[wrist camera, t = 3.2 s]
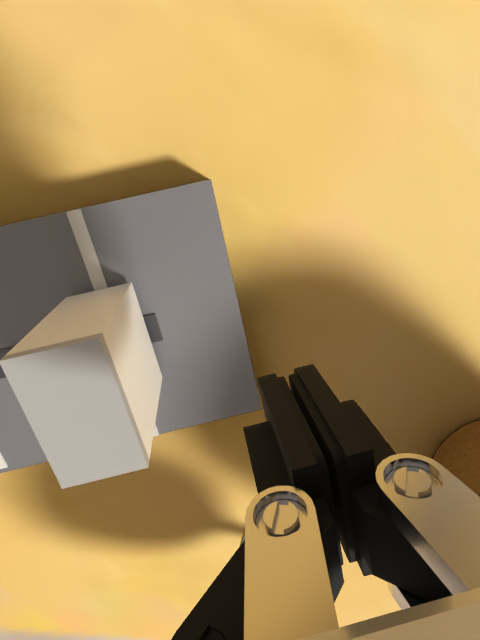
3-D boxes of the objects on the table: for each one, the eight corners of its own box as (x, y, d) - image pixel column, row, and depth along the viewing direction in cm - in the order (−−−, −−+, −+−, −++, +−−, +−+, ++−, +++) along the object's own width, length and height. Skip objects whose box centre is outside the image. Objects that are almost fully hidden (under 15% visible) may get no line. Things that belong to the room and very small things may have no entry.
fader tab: (66, 297, 17) (-2, 361, 11) (131, 282, 17) (99, 337, 11) (103, 391, 19) (62, 489, 13) (162, 377, 19) (148, 467, 13)
